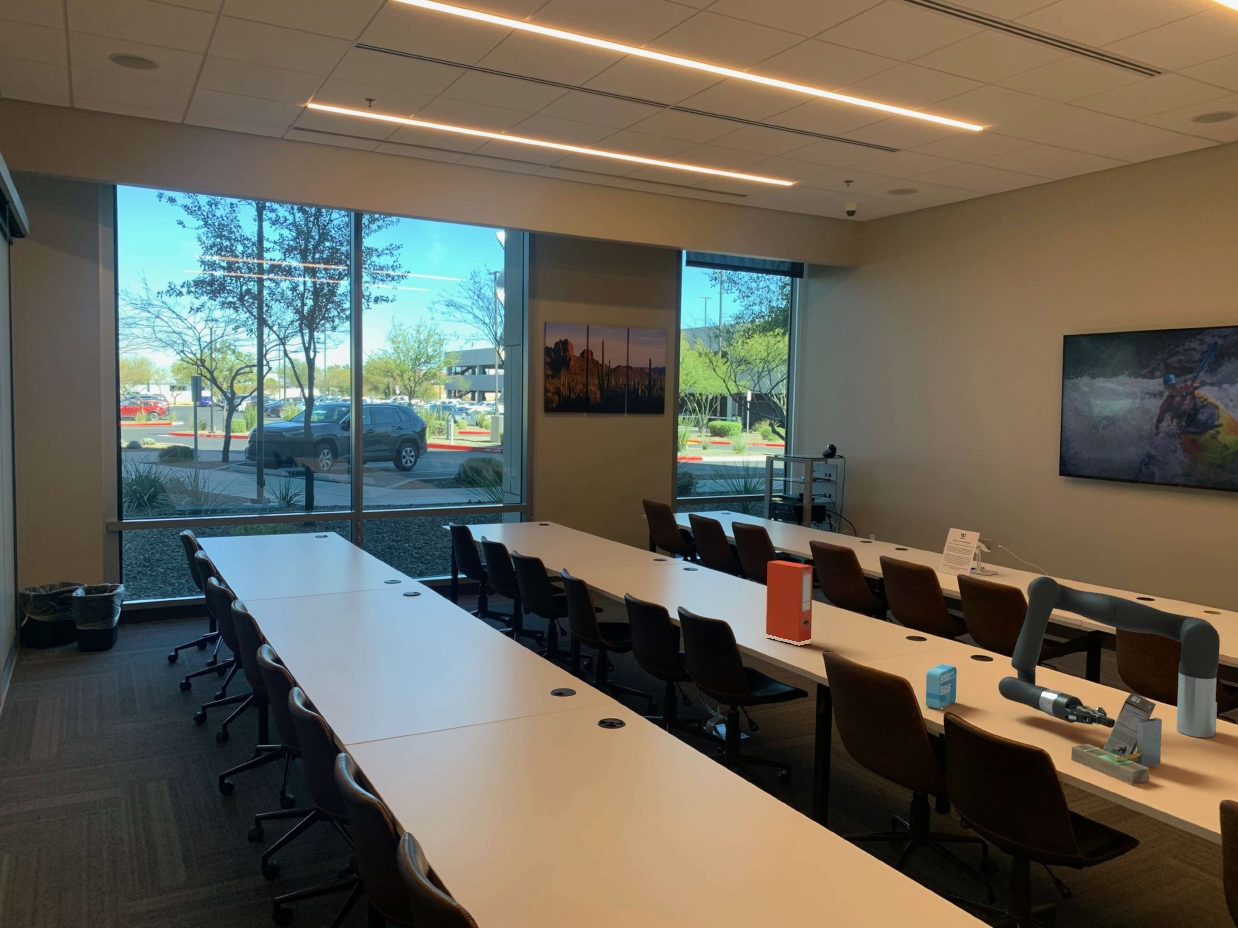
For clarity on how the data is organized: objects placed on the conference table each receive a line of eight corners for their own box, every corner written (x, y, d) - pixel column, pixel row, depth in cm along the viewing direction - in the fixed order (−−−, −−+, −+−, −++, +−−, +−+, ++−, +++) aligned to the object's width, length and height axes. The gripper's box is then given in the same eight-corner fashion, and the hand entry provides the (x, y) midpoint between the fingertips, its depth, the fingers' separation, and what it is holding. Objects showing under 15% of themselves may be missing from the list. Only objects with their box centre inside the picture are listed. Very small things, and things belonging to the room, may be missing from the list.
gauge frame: (1087, 756, 242) (1088, 743, 242) (1148, 781, 225) (1149, 767, 225) (1071, 759, 240) (1071, 745, 239) (1132, 785, 223) (1132, 770, 223)
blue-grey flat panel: (1154, 762, 235) (1156, 717, 235) (1160, 764, 234) (1161, 719, 233) (1112, 770, 230) (1114, 724, 229) (1118, 772, 228) (1119, 726, 228)
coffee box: (1109, 741, 247) (1131, 691, 243) (1133, 754, 243) (1157, 703, 239) (1101, 751, 240) (1124, 699, 236) (1126, 764, 236) (1150, 711, 232)
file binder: (778, 635, 374) (780, 559, 372) (811, 643, 361) (812, 565, 359) (765, 638, 369) (767, 561, 367) (798, 646, 356) (799, 567, 354)
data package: (938, 710, 279) (939, 673, 278) (925, 707, 282) (926, 670, 282) (956, 702, 287) (957, 665, 287) (942, 699, 291) (943, 662, 290)
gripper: (1043, 695, 256) (1096, 713, 240) (1077, 690, 261) (1131, 707, 245) (1043, 720, 256) (1095, 740, 240) (1077, 715, 261) (1130, 734, 245)
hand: (1113, 723), depth 243 cm, fingers closed
